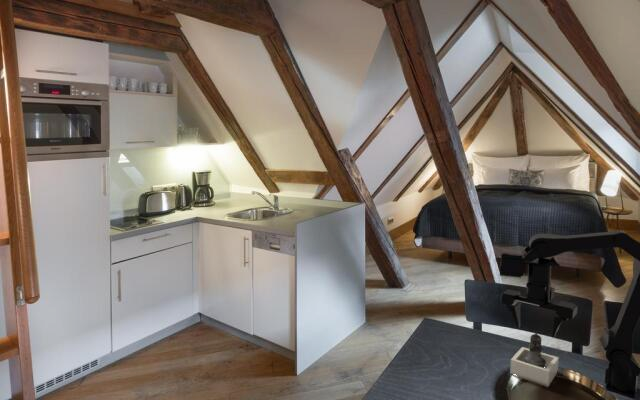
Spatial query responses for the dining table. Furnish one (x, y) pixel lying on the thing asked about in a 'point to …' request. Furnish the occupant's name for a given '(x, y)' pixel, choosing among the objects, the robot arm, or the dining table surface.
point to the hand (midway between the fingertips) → (535, 332)
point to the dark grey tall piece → (535, 352)
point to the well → (534, 368)
